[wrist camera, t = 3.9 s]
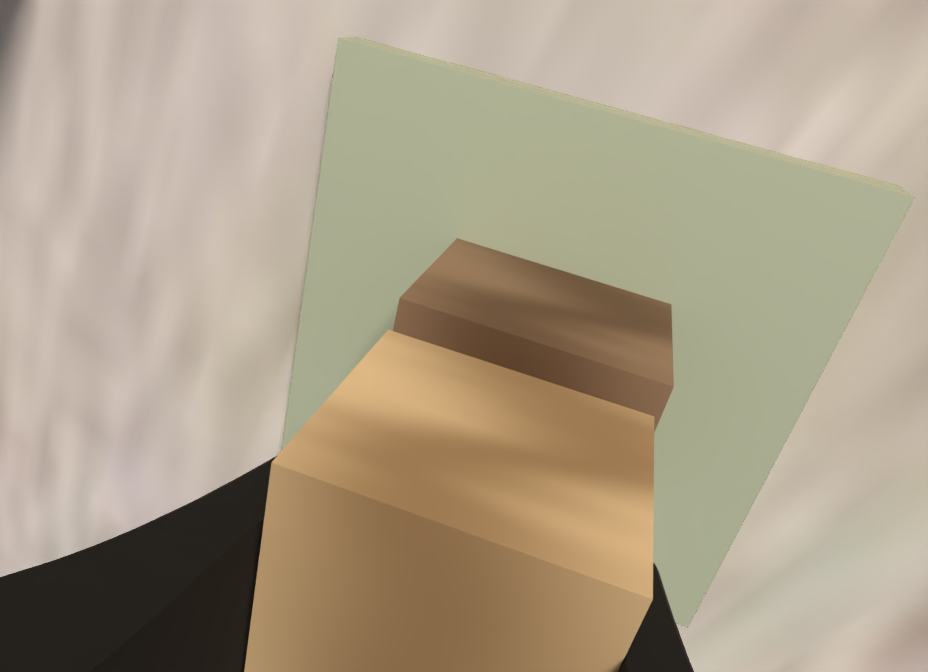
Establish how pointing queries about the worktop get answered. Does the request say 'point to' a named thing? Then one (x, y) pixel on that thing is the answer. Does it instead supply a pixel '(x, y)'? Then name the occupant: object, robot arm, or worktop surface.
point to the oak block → (455, 524)
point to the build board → (597, 259)
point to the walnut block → (544, 325)
